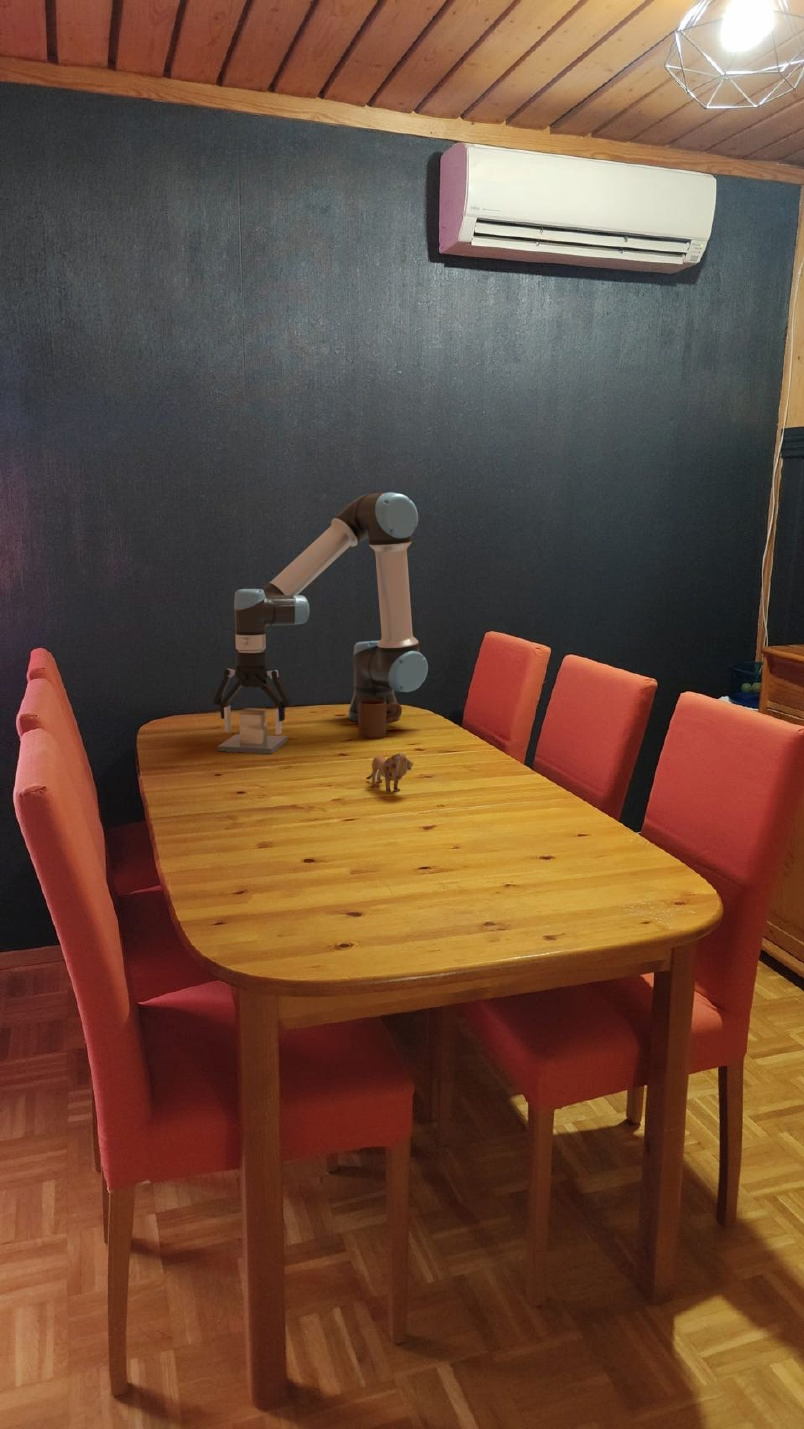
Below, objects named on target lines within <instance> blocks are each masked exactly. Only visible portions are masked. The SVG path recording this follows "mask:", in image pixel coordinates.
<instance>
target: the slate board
mask: <svg viewBox="0 0 804 1429" xmlns="http://www.w3.org/2000/svg"><path fill="white" fill-rule="evenodd" d="M287 742H288V736H287V735H271V734H270V735H269V734H267V740H265V741H264V742H263V743H261V744H250V743H240V733H235V734H234V735H233V736H231V737H230V738H228V739H227V740H225V741H224V742H223V743H221V744H219V745H218V747H217V750H218V751H226V752H225V753H238V752H245V753H244V754H263V755H264V754H266V755H273V754H274V753H275V752H276V751H277V750H279V749H280V748H281V747H283V746H284V745H285V744H286V743H287Z"/></svg>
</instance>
